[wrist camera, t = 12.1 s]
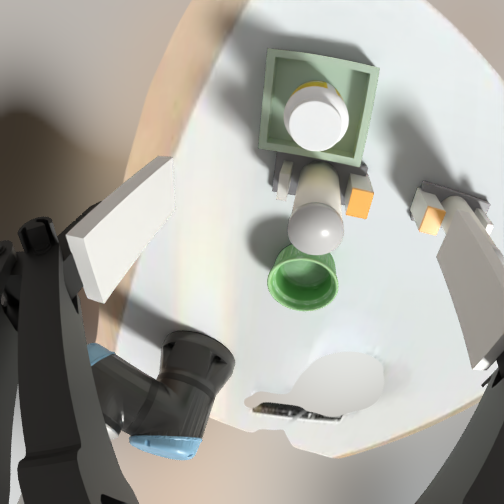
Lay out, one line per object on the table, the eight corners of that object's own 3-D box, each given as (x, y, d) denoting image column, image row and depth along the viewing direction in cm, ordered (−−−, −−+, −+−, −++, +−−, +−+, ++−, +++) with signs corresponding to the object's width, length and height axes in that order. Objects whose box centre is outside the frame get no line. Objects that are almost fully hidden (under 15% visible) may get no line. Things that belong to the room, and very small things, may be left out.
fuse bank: (273, 188, 36) (252, 245, 27) (278, 148, 33) (257, 193, 24) (473, 234, 33) (506, 295, 24) (488, 201, 30) (529, 258, 21)
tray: (262, 141, 33) (258, 148, 31) (271, 48, 26) (267, 48, 24) (357, 159, 32) (359, 167, 30) (375, 67, 25) (379, 68, 23)
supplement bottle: (280, 111, 30) (264, 134, 22) (309, 69, 26) (304, 75, 19) (324, 139, 31) (324, 173, 23) (353, 100, 27) (367, 119, 20)
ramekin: (295, 225, 38) (291, 245, 35) (352, 259, 40) (353, 282, 36) (261, 269, 44) (254, 291, 41) (313, 298, 45) (311, 320, 42)
